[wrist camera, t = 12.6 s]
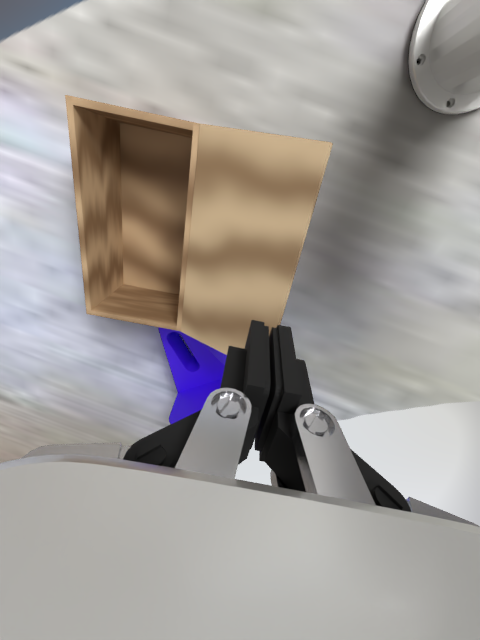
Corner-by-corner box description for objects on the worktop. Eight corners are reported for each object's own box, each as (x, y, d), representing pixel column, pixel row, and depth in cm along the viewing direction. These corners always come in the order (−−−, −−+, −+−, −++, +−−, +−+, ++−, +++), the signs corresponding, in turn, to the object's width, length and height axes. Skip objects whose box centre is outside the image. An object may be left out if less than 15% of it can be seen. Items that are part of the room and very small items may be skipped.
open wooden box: (116, 116, 33) (65, 94, 24) (215, 137, 33) (200, 123, 24) (121, 285, 43) (86, 313, 34) (196, 299, 44) (180, 331, 35)
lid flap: (331, 142, 20) (332, 143, 20) (199, 123, 24) (204, 125, 25) (264, 374, 30) (266, 371, 31) (180, 331, 35) (183, 330, 35)
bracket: (246, 377, 51) (243, 429, 40) (195, 393, 53) (180, 446, 43) (201, 295, 43) (184, 333, 33) (144, 318, 46) (111, 360, 35)
